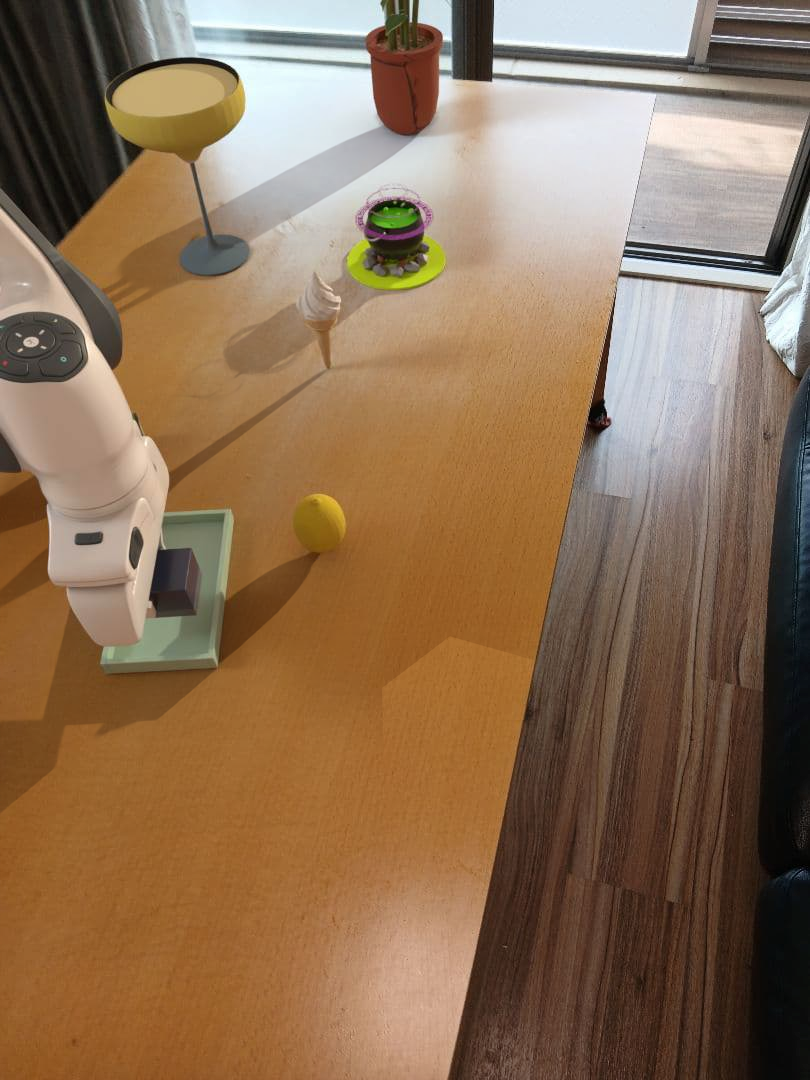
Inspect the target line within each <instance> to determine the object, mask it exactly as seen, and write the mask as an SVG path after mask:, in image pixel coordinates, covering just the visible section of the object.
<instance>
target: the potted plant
mask: <svg viewBox="0 0 810 1080" xmlns="http://www.w3.org/2000/svg"><path fill="white" fill-rule="evenodd" d="M410 1H411V0H398V1H397V2H398V13H397V7H396V0H380V3H379V5H380V6H381V12H384V10H385V15H386V20H385V22H384V25H381V26H379V27H376V28H374V29H373V30H371V31H370V32H368V34H366V36H365V40H364V41H365V47H366V48H365V49H366V52H367V53H368V54H369V55H370V58H369V59H370V71H371V72H370V73H371V85H372V86H371V87H372V97H373V102H374V105H375V110H376V115H377V116H378V119H380V121H381V123H382V124H383V126H384V127H385V128H387V129H388V130H389V131H391V132H392V133H395V134H398V135H404V136H405V135H408V136H409V135H414V134H417V133H420V132H422V131H423V130H425V129H426V128H427V127H428V126H429V125H430V123H431V121H432V119H433V118H434V117H435V114H436V113H437V108H438V107H437V106H438V101H439V95H440V51H441V50H442V49H443V45H444V44H443V41H444V35H443V33H442V31H441V30H440V29H438V28H437V27H434V26H433V25H431V24H426V23H421V22H419V7H420V0H412V7H411V3H410ZM445 1H446V2H447V3H448V5H449V6H450V7H452V6H451V4H450V3H449V1H448V0H445ZM410 8H412V10H411V9H410ZM410 10H411V13H410ZM410 15H411V18H410ZM410 19H411V20H410ZM410 21H411V22H410Z"/></svg>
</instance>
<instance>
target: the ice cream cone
mask: <svg viewBox="0 0 810 1080" xmlns="http://www.w3.org/2000/svg"><path fill="white" fill-rule="evenodd" d="M332 292H334V289H333V288H331V286H329V285H328V284H326V283H325V281H324V280H323V279H322V278H321V277H320V276H319V275H318V274H317V272H316V271H315V270H314V271H313V272H312V275H311V277H310V279H309V281H308V282H307V284H306V286H305V287H304V289H303V291H302V292H301V294H300V295H299V297H298V299H297V300H296V302H295V304H296V308H297V312H298V314H299V316H300V317H301V318H302V319H303V320H304V323H305V325H306V327H307V328H309V329H311V330H314V331H315V336H316V339H317V343H318V347H319V349H320V353H321V356H322V359H323V364H324V366H325V368H326V369H327V370H329V369H331V366H332V358H331V357H332V355H331V353H332V349H331V348H332V347H331V343H332V340H331V339H332V338H331V329H332V327H334V326H335V325H336V324H337V323H338V315H339V314H340V312H341V303H342V299H341V296H340V295H336V296H335V295H334V294H333V293H332Z"/></svg>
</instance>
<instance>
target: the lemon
mask: <svg viewBox="0 0 810 1080" xmlns="http://www.w3.org/2000/svg"><path fill="white" fill-rule="evenodd" d="M346 523H347V522H346V517H345V514H344V511H343V509H342V508H341V506H340V504H339V503H338V502H337V501H336V500H335V499H334V498H333V497H331V496H330V495H327V494H324V493H313V494H310V495H307V496H306V497H304V498H303V499H302V500H300V502H299V503H298V504H297V506H296V508H295V511H294V515H293V531H294V533H295V536H296V538H297V540H298V542H299V543H300V544H301V545H302V547H304V548H305V549H307V550H308V551H310V552H313V553H318V554H323V553H328V552H331V551H333V550H334V549H336V548H337V547H338V546H339V545H340V544H341V543H342V541H343V540H344V537H345V534H346V528H347V527H346V526H347V525H346Z"/></svg>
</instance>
